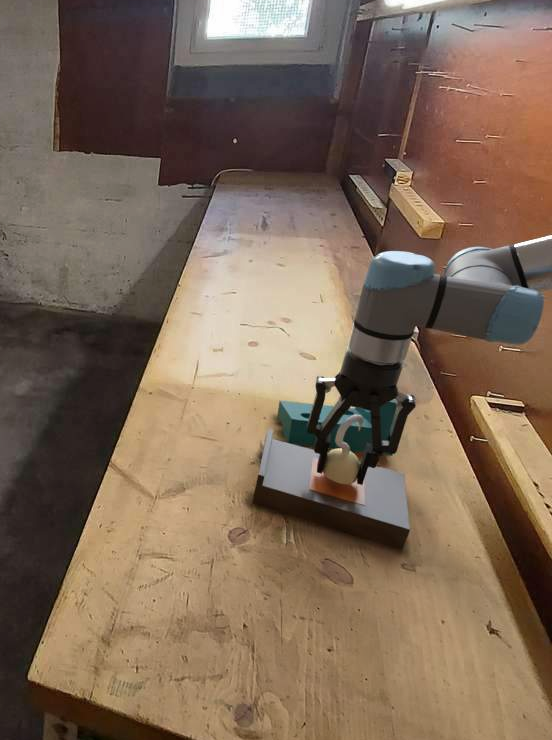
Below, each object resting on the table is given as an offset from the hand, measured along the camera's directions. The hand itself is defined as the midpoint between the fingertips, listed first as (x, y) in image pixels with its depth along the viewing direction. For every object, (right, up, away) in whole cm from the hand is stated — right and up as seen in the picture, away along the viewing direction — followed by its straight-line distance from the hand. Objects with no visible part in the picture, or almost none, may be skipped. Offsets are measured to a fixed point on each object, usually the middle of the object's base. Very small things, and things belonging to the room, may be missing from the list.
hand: (339, 473), depth 94 cm
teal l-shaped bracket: (+9, +3, +19) cm, 21 cm away
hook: (0, 0, 0) cm, 1 cm away
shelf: (-1, -5, +3) cm, 6 cm away
